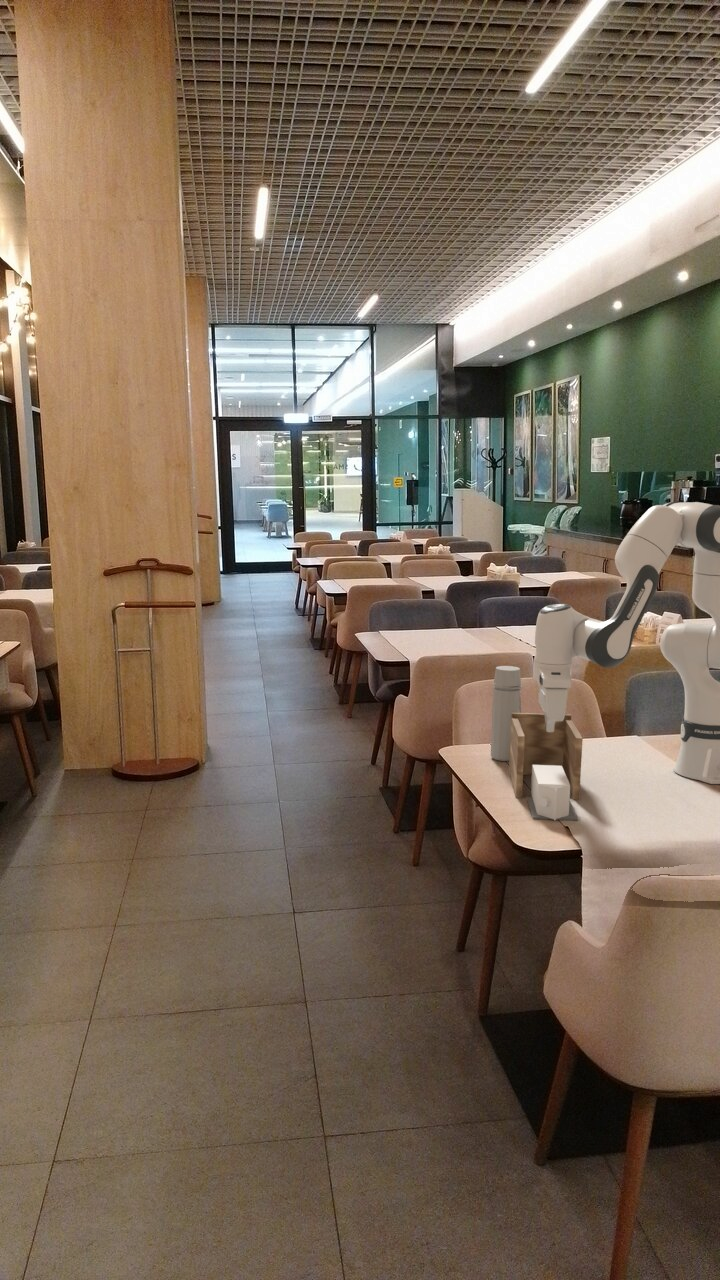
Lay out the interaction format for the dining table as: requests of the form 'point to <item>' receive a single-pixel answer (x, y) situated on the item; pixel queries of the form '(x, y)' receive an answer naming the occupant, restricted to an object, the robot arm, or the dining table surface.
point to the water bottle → (504, 709)
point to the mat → (534, 814)
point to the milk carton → (550, 791)
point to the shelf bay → (544, 749)
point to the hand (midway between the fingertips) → (549, 730)
